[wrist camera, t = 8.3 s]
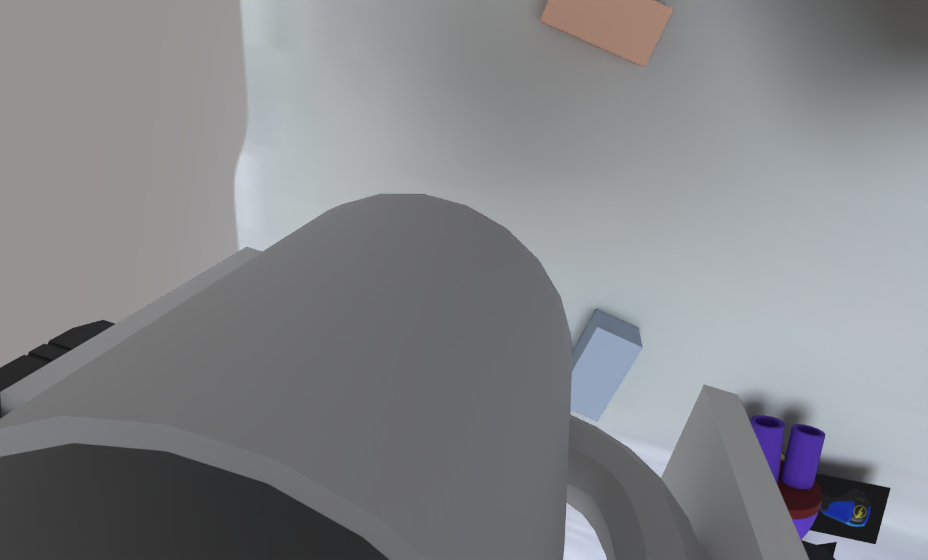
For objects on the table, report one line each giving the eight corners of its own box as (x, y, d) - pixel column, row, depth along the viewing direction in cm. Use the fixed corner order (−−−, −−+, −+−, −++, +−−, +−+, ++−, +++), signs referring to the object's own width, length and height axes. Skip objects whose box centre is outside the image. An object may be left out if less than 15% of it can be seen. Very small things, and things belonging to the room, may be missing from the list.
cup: (314, 134, 13) (-135, 281, 5) (756, 317, 13) (1056, 799, 5) (245, 398, 16) (-114, 770, 8) (605, 555, 16) (624, 1116, 7)
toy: (708, 383, 43) (672, 572, 46) (726, 429, 36) (682, 650, 39) (882, 413, 41) (832, 610, 44) (940, 469, 33) (875, 701, 37)
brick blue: (596, 307, 41) (597, 326, 38) (638, 326, 40) (642, 347, 38) (556, 379, 43) (554, 402, 40) (596, 397, 43) (597, 421, 40)
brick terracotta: (543, 22, 35) (539, 20, 32) (566, -33, 34) (564, -40, 31) (640, 65, 35) (644, 67, 32) (666, 11, 34) (674, 8, 31)
